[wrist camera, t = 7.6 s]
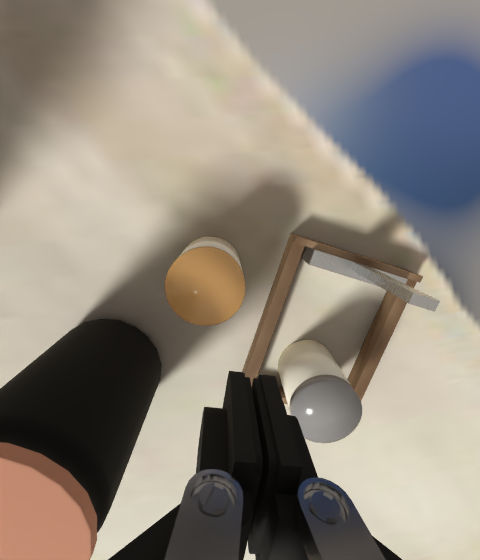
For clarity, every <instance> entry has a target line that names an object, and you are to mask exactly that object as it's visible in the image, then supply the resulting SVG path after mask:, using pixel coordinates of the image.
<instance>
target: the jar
mask: <svg viewBox="0 0 480 560" xmlns="http://www.w3.org/2000/svg"><path fill="white" fill-rule="evenodd" d="M165 294H166V298H167V300H168V303H169V305H170V306H171V308H172V309H173V311H174V312H175V313H176V314H177V315H178V316H179V317H181V318H182V319H184V320H185V321H187V322H189V323H192V324H196V325H201V326H210V325H216V324H219V323H222V322H224V321H226V320H228V319H229V318H231V317H232V316H233V315H234V314H235V313H236V312H237V311H238V309H239V308H240V306H241V304H242V302H243V299H244V296H245V280H244V276H243V272H242V268H241V263H240V259H239V256H238V254H237V252H236V250H235V249H234V247H233V246H232V245H231V244H230V243H228V242H227V241H225V240H223V239H221V238H218V237H213V236H206V237H201V238H198V239H196V240H194V241H193V242H191V243H190V244H189V245H188V246H187V247H186V248H185V250H184V251H183V252H182V253H181V254H180V256H179V257H178V258H177V259H176V260H175V262H174V263H173V264H172V265H171V267H170V269H169V271H168V273H167V276H166V279H165Z"/></svg>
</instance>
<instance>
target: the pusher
mask: <svg viewBox="0 0 480 560" xmlns="http://www.w3.org/2000/svg"><path fill="white" fill-rule="evenodd" d="M302 259H303V260H304V261H305V262H307V263H308V264H309V265H312V266H315V267H319V268H322V269H325V270H328V271H332V272H335V273H338V274H341V275H344V276H348V277H351V278H354V279H357V280H361V281H364V282H367V283H370V284H374V285H377V286H380V287H381V288H383V289H385V290H386V291H388V292H390V293H392V294H393V295H395V296H397V297H398V298H400V299H402V300H403V301H405V302H407V303H409V304H412V305H415V306H419V307H422V308H425V309H428V310H432V311H435V310H436V308H437V306H438V304H439V302H440V301H439V300H437V299H435V298H432V297H430V296H428V295H426V294H424V293H422V292H420V291H418V290H416V289H414V288H412V287H410V286H408V285H406V282H407V280H408V279H406V278H404V277H401V276H398V275H395V274H392V273H389V272H386V271H382V270H379V269H376V268H373V267H370V266H367V265H363V264H360V263H357V262H354V261H351V260H348V259H344V258H341V257H338V256H335V255H332V254H329V253H325V252H322V251H319V250H316V249H313V248H310V247H306V248H305V251H304V253H303V256H302Z"/></svg>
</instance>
